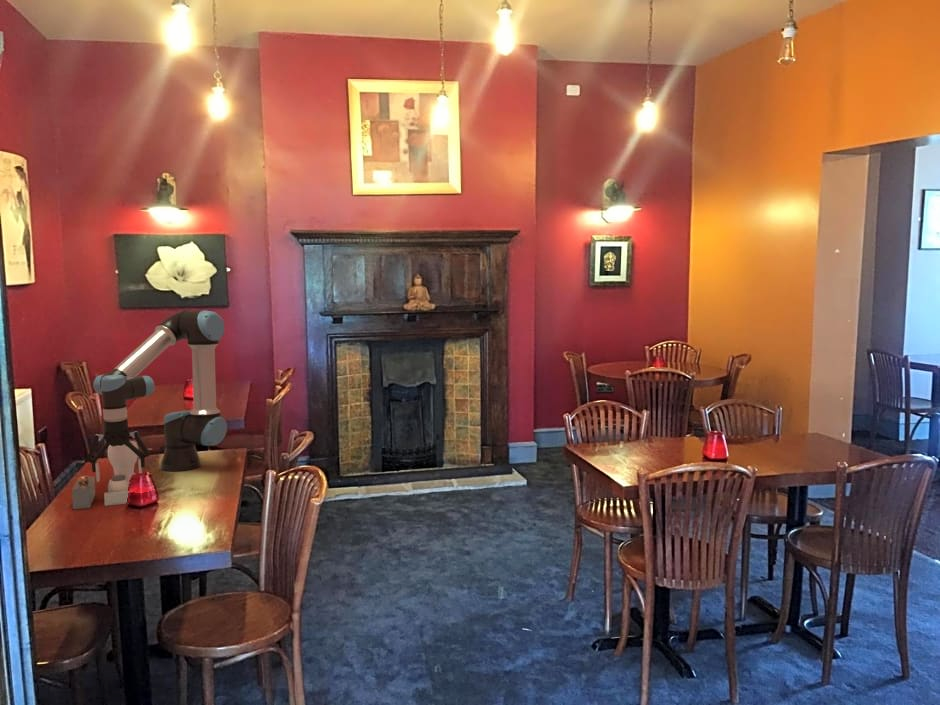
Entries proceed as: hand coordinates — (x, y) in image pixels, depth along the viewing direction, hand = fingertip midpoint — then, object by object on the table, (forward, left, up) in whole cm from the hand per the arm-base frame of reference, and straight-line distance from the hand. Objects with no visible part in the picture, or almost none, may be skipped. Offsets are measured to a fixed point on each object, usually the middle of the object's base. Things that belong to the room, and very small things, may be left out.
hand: (119, 478), depth 261 cm
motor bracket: (+5, 0, -7) cm, 9 cm away
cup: (0, -23, -7) cm, 24 cm away
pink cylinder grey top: (0, 0, -7) cm, 7 cm away
